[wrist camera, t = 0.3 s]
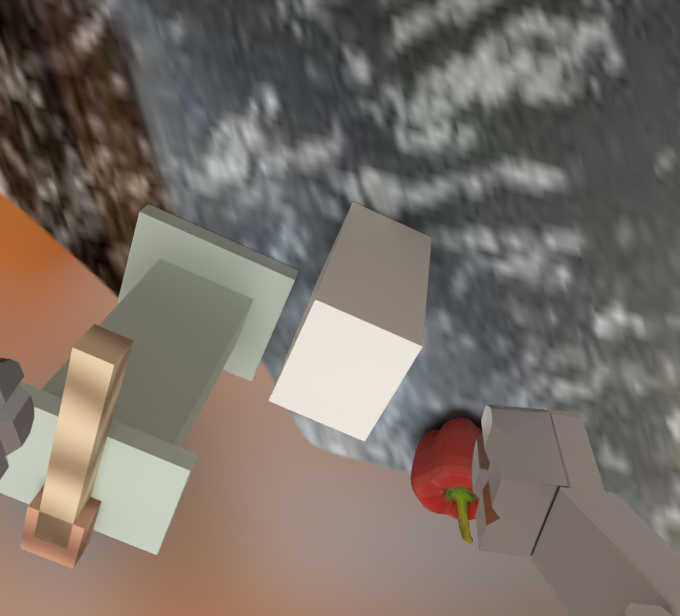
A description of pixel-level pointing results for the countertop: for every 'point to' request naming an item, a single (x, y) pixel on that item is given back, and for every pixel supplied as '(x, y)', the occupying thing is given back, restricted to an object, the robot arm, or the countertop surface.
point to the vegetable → (448, 472)
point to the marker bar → (77, 449)
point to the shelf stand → (163, 369)
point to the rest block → (358, 325)
